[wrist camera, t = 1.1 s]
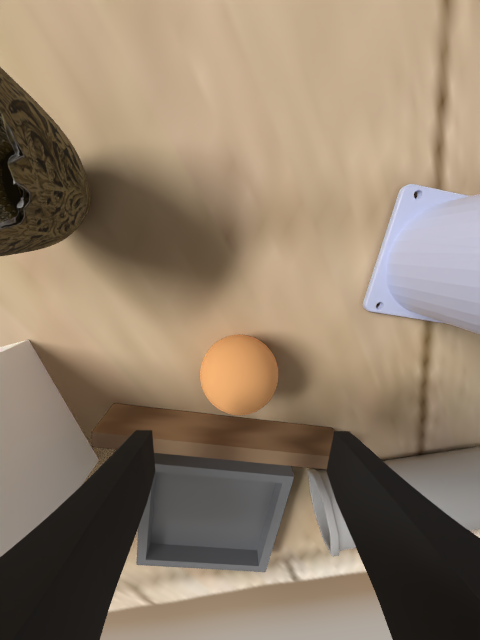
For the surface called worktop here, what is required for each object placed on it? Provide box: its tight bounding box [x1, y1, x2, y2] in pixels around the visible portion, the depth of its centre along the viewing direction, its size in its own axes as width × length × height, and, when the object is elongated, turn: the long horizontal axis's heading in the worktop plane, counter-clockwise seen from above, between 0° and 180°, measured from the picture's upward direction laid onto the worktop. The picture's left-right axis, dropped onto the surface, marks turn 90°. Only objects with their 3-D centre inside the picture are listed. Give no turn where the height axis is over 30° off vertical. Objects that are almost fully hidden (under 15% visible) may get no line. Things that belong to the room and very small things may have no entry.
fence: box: [92, 403, 334, 469], centre depth 17 cm, size 18×1×3 cm, turn 81°
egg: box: [200, 335, 278, 415], centre depth 15 cm, size 5×5×5 cm
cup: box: [0, 67, 91, 256], centre depth 10 cm, size 8×7×8 cm
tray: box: [137, 453, 294, 572], centre depth 21 cm, size 12×12×2 cm
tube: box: [308, 446, 480, 556], centre depth 19 cm, size 5×5×25 cm
